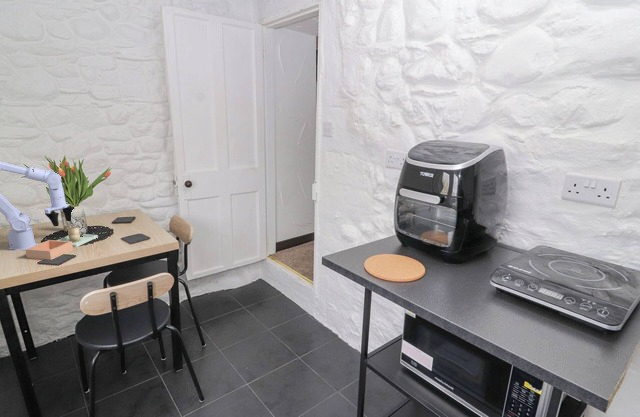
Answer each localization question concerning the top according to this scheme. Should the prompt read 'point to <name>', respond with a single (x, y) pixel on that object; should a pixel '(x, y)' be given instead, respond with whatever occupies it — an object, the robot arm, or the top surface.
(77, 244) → the sage tray
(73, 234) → the beech cylinder
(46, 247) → the salmon tray
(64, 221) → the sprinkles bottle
